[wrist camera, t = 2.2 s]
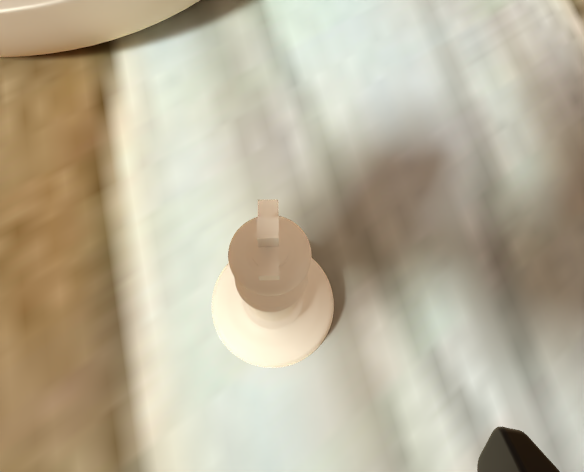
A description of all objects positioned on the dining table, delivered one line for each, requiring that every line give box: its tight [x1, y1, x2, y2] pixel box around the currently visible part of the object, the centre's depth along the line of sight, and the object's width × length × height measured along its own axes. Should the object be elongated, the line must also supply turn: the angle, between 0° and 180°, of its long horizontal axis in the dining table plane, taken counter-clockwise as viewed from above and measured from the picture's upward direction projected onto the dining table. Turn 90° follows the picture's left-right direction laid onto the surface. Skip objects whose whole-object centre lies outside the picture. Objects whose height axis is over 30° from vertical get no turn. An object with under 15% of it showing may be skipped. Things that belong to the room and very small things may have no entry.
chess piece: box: [212, 200, 334, 368], centre depth 14 cm, size 5×5×10 cm
